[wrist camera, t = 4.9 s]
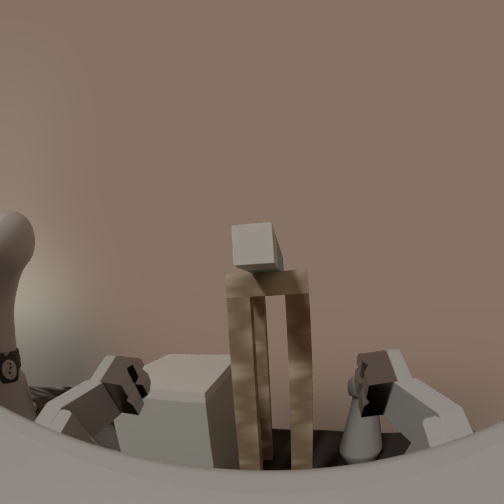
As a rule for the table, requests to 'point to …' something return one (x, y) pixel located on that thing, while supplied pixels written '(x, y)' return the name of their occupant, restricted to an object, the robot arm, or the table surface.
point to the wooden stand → (257, 364)
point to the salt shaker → (360, 433)
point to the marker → (256, 248)
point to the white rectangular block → (185, 413)
